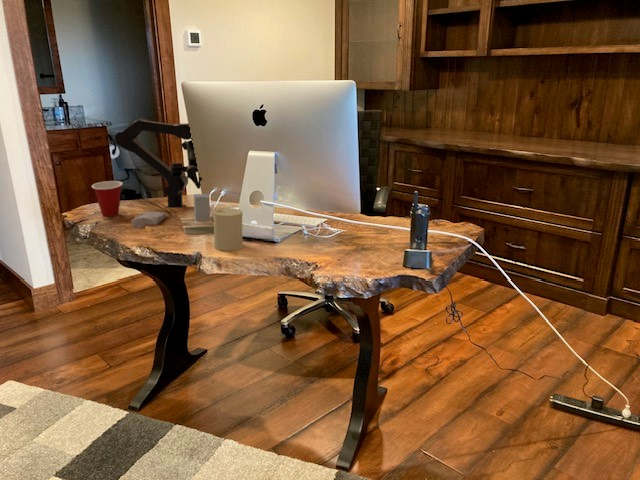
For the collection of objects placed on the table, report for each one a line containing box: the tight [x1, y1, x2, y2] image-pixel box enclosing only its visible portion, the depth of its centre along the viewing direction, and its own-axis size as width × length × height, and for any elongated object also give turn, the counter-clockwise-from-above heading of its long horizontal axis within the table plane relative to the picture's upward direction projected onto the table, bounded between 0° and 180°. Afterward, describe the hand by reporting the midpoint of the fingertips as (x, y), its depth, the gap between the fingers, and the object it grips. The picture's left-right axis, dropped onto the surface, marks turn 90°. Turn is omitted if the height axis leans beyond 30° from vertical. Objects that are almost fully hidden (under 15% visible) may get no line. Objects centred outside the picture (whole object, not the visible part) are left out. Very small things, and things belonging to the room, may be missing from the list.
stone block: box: [131, 211, 166, 229], centre depth 187 cm, size 12×5×10 cm
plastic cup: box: [91, 180, 123, 217], centre depth 194 cm, size 11×11×12 cm
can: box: [213, 207, 244, 252], centre depth 164 cm, size 9×9×12 cm
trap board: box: [180, 215, 214, 238], centre depth 184 cm, size 20×15×3 cm
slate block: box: [193, 193, 211, 222], centre depth 189 cm, size 5×5×9 cm
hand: (198, 188), depth 195 cm, fingers closed
